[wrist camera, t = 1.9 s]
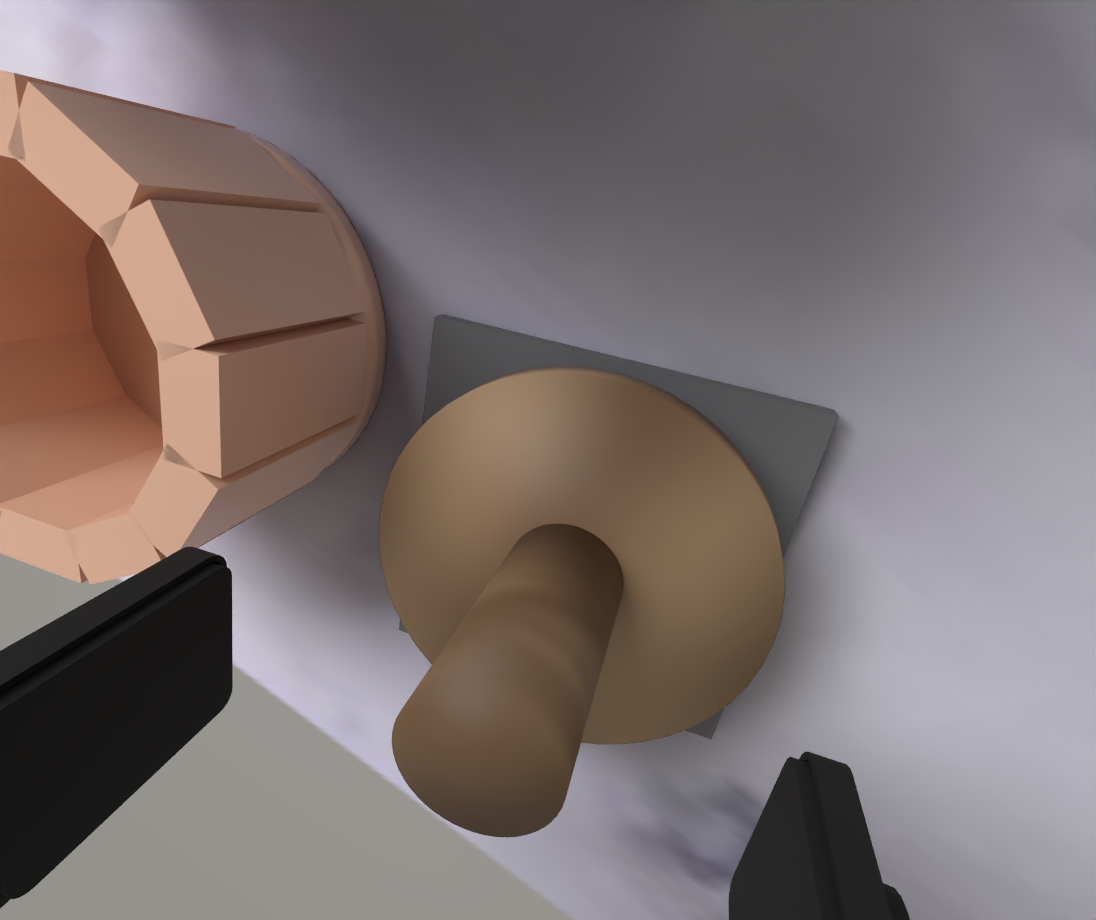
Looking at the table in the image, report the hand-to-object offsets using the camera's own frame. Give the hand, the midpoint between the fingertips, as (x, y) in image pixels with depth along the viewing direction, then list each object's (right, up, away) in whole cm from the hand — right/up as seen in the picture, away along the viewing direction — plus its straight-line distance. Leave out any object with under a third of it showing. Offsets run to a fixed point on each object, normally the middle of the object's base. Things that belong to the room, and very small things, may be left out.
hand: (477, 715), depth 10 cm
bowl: (-7, +8, +6) cm, 12 cm away
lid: (+2, +2, +5) cm, 6 cm away
